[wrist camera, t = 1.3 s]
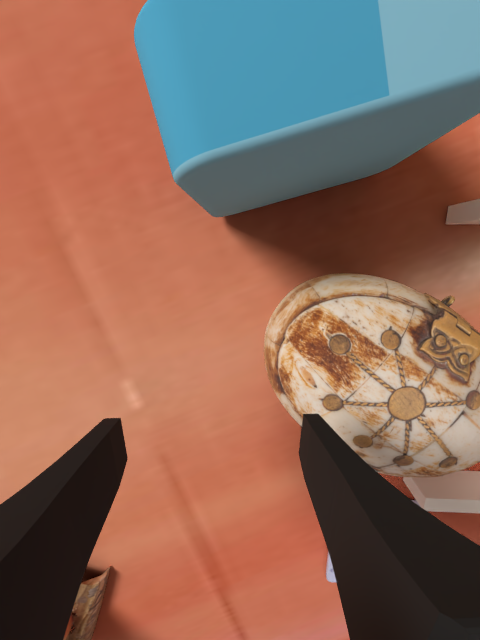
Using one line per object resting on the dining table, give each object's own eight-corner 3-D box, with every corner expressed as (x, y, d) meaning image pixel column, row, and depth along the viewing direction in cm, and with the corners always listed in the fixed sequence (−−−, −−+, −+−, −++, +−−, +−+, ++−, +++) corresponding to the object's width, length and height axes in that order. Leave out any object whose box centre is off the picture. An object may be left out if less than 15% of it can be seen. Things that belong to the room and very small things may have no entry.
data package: (374, 98, 18) (597, -184, 6) (384, 172, 19) (593, 45, 7) (196, 153, 19) (110, -1, 8) (214, 220, 20) (162, 176, 9)
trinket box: (436, 435, 24) (525, 523, 16) (257, 426, 24) (260, 507, 16) (472, 274, 20) (603, 287, 13) (265, 268, 21) (272, 276, 13)
